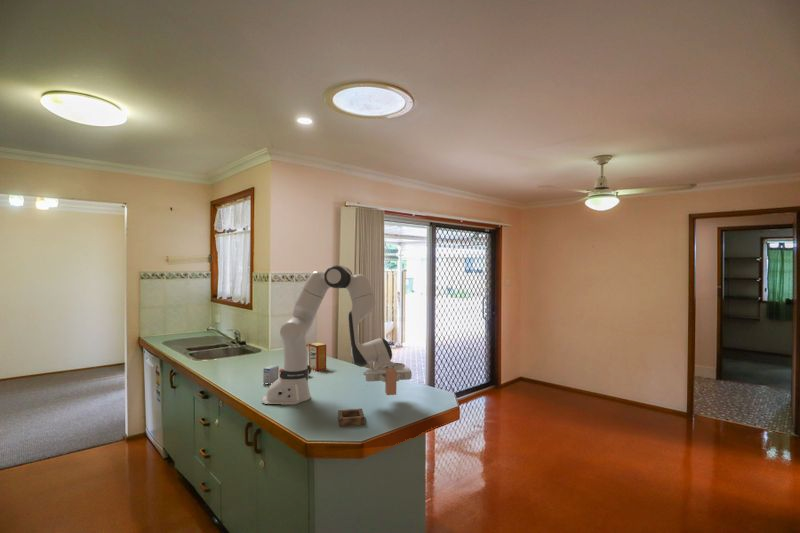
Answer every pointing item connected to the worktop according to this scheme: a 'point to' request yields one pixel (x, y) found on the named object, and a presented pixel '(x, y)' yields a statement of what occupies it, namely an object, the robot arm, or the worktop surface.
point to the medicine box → (270, 374)
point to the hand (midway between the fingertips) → (391, 379)
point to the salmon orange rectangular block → (390, 381)
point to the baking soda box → (317, 356)
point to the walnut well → (351, 417)
